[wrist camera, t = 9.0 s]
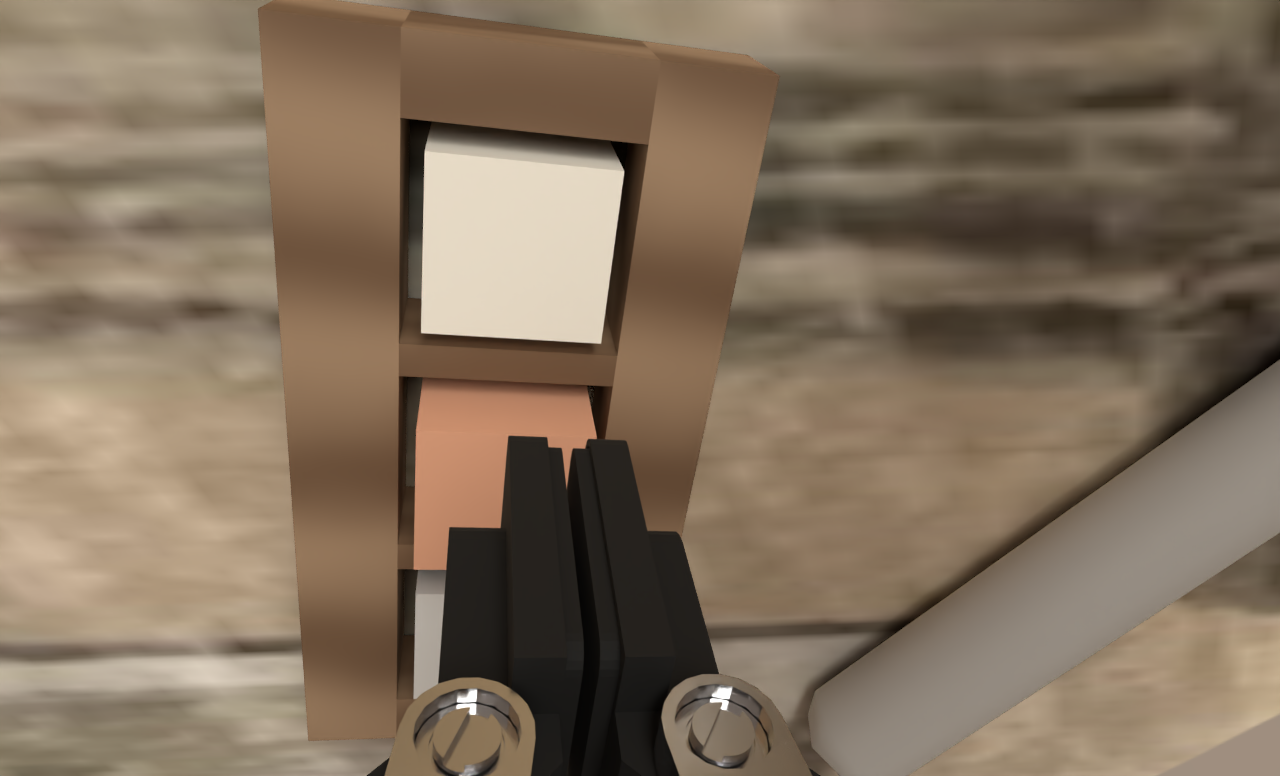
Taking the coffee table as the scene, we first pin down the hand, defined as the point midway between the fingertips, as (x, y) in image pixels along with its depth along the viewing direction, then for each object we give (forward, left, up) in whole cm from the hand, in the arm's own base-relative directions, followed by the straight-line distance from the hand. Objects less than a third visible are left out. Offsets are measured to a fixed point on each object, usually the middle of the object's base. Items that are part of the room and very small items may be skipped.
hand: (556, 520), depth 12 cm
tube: (+13, +22, -15) cm, 30 cm away
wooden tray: (+7, 0, -15) cm, 16 cm away
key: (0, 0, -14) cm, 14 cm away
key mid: (+7, 0, -13) cm, 15 cm away
